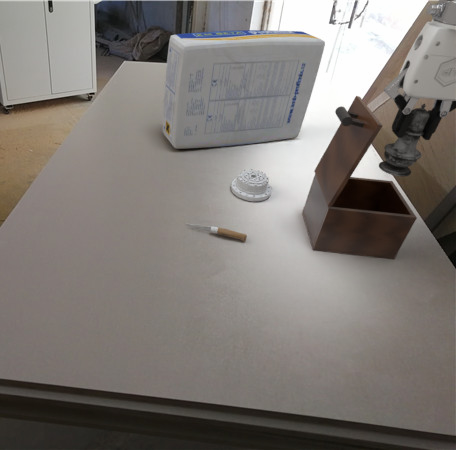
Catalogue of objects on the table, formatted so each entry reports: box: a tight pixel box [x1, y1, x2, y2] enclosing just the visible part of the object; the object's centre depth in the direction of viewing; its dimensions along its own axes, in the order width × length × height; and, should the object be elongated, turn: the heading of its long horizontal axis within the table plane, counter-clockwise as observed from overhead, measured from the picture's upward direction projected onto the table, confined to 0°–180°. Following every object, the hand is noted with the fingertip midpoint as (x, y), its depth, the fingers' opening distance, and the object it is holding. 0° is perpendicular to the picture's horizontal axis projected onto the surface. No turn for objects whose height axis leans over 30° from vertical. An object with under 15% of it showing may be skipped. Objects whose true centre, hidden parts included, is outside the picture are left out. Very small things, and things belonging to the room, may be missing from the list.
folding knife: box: [184, 222, 248, 243], centre depth 87 cm, size 14×2×2 cm, turn 72°
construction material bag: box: [162, 29, 326, 150], centre depth 117 cm, size 43×12×30 cm, turn 108°
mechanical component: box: [230, 168, 273, 202], centre depth 101 cm, size 10×4×10 cm
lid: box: [313, 95, 384, 207], centre depth 78 cm, size 17×14×5 cm
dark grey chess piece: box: [378, 103, 430, 178], centre depth 69 cm, size 6×6×12 cm
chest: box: [301, 173, 418, 260], centre depth 86 cm, size 17×14×11 cm
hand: (410, 134), depth 68 cm, fingers closed on dark grey chess piece, 3 cm apart
